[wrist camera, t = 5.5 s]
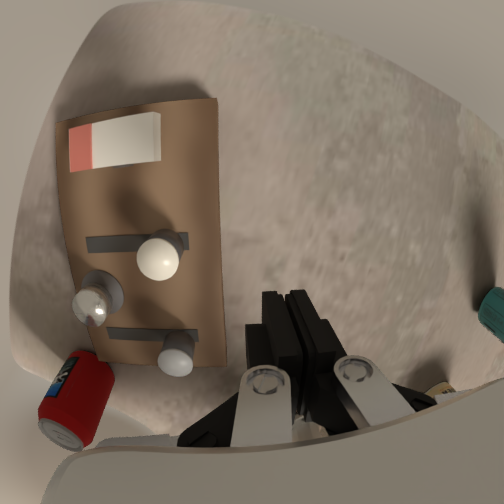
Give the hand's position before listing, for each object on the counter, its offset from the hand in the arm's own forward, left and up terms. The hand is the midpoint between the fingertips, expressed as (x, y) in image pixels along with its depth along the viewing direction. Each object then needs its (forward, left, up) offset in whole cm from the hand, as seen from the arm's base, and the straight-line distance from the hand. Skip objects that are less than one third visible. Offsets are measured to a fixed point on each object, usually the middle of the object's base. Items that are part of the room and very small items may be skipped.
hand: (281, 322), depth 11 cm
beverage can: (+20, +17, -15) cm, 30 cm away
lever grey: (+7, +9, -12) cm, 16 cm away
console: (+10, +1, -15) cm, 18 cm away
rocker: (+10, -8, -10) cm, 16 cm away
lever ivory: (+7, 0, -12) cm, 14 cm away
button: (+14, +5, -10) cm, 18 cm away
